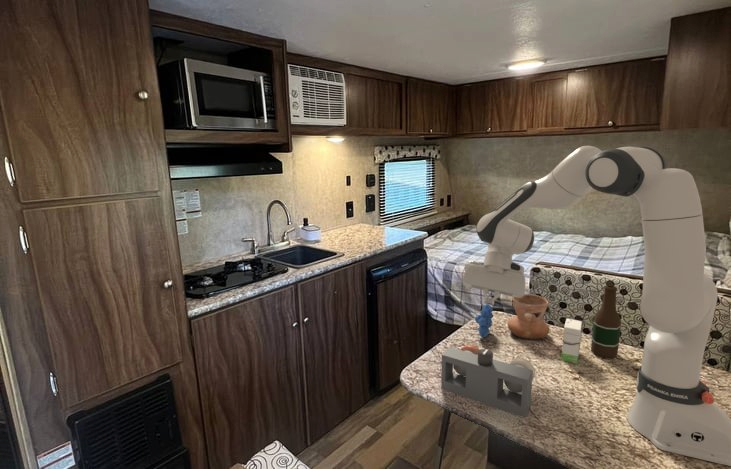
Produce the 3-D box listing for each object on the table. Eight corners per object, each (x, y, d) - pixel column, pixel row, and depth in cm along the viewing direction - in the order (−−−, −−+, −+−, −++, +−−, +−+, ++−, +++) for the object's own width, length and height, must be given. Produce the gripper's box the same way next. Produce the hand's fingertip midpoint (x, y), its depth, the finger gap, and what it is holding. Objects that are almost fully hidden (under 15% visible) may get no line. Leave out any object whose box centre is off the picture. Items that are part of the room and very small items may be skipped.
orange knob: (482, 369, 120) (483, 348, 119) (473, 381, 114) (474, 359, 112) (460, 362, 124) (461, 342, 123) (450, 374, 118) (450, 352, 116)
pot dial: (494, 361, 108) (495, 350, 108) (489, 367, 105) (490, 356, 104) (480, 357, 111) (480, 346, 110) (475, 363, 107) (475, 352, 107)
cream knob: (534, 384, 112) (536, 361, 110) (527, 399, 105) (529, 375, 104) (508, 377, 116) (510, 355, 114) (500, 390, 109) (501, 367, 108)
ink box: (578, 364, 126) (581, 330, 124) (561, 360, 129) (563, 327, 127) (579, 352, 134) (582, 320, 131) (563, 349, 136) (566, 317, 134)
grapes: (478, 327, 155) (479, 298, 153) (495, 330, 151) (497, 301, 149) (469, 338, 145) (470, 308, 143) (487, 342, 142) (488, 312, 139)
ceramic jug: (547, 348, 137) (551, 309, 134) (504, 339, 143) (507, 303, 141) (549, 328, 153) (552, 294, 150) (510, 322, 159) (512, 288, 157)
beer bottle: (617, 351, 134) (625, 284, 129) (617, 361, 127) (625, 291, 122) (591, 346, 138) (597, 281, 133) (589, 355, 131) (596, 288, 126)
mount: (530, 407, 106) (532, 370, 103) (525, 418, 101) (527, 380, 99) (448, 380, 119) (449, 346, 117) (441, 388, 115) (441, 354, 113)
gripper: (466, 256, 135) (456, 293, 130) (529, 268, 127) (522, 308, 122) (466, 262, 140) (458, 299, 135) (527, 274, 132) (520, 313, 128)
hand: (488, 303), depth 129 cm, fingers closed
